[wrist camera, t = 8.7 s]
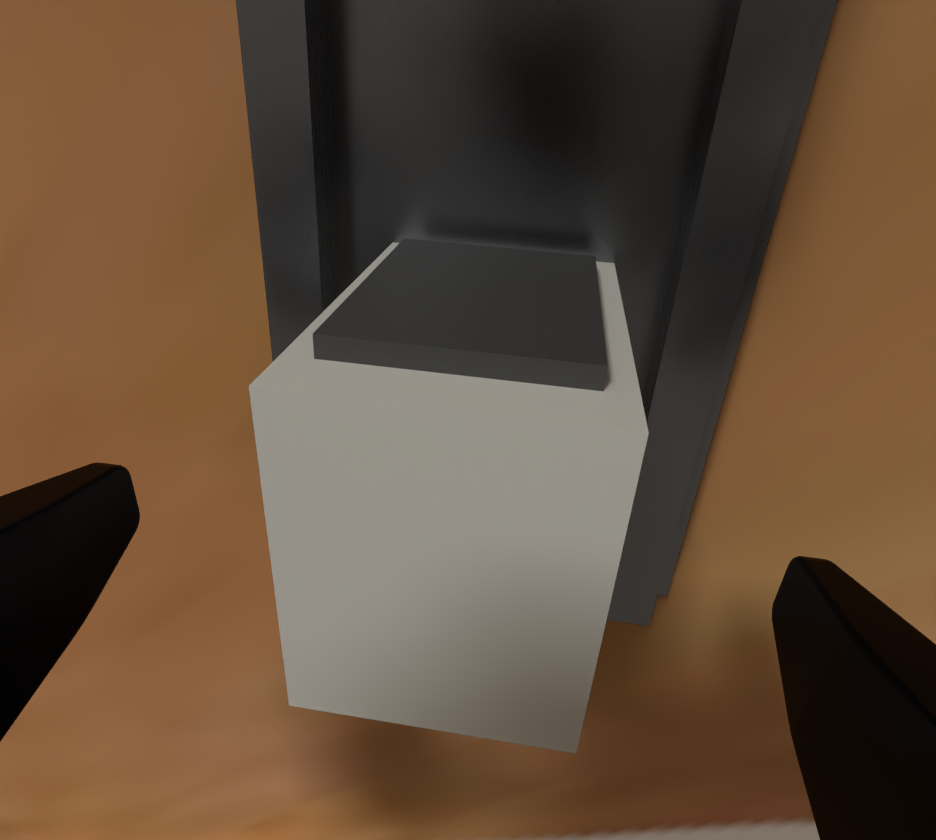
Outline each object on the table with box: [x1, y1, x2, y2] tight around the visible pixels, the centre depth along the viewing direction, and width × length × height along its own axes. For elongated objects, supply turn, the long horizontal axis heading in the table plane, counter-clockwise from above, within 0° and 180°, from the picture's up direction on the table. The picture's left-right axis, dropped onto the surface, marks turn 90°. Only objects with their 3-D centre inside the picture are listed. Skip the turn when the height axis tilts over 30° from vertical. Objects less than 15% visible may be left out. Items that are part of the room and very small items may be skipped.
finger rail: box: [236, 0, 837, 626], centre depth 10 cm, size 9×22×2 cm, turn 177°
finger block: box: [249, 238, 649, 754], centre depth 10 cm, size 5×4×6 cm
